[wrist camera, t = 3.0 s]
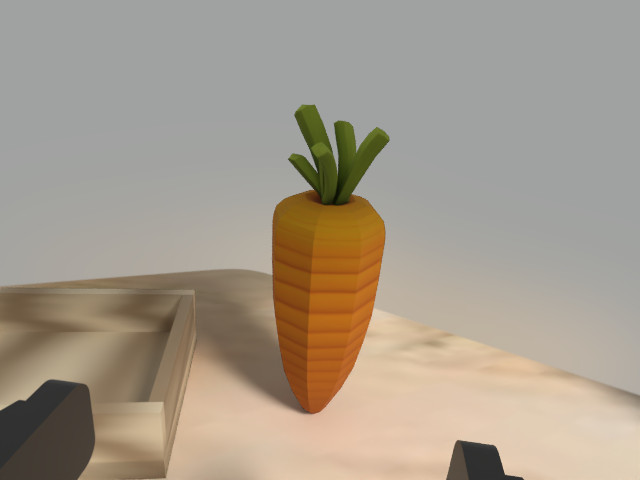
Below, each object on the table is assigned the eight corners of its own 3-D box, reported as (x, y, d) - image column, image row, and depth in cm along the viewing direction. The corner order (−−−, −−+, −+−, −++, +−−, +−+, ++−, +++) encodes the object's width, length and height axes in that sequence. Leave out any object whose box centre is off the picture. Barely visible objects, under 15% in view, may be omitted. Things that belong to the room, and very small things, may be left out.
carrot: (381, 427, 24) (429, 117, 18) (292, 465, 21) (314, 119, 15) (328, 370, 27) (353, 100, 22) (247, 396, 25) (252, 99, 19)
